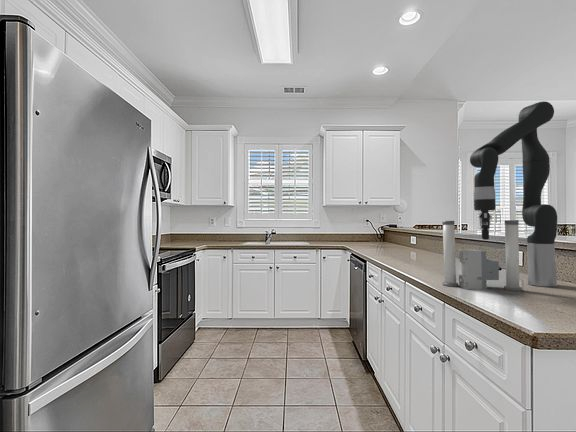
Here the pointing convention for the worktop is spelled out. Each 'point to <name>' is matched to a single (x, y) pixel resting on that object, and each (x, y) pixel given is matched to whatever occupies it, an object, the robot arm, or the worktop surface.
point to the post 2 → (512, 255)
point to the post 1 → (449, 254)
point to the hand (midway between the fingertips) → (485, 238)
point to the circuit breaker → (477, 269)
